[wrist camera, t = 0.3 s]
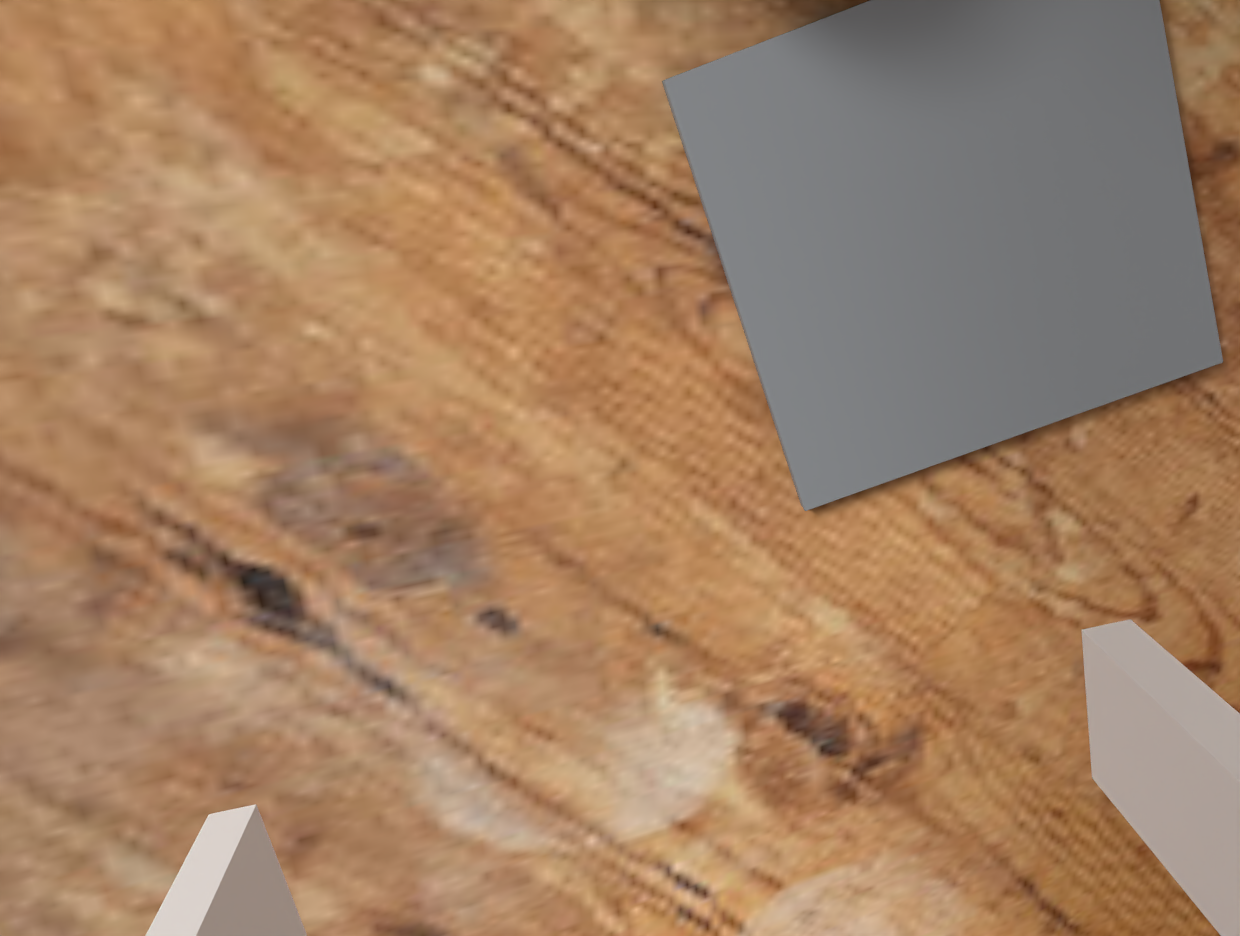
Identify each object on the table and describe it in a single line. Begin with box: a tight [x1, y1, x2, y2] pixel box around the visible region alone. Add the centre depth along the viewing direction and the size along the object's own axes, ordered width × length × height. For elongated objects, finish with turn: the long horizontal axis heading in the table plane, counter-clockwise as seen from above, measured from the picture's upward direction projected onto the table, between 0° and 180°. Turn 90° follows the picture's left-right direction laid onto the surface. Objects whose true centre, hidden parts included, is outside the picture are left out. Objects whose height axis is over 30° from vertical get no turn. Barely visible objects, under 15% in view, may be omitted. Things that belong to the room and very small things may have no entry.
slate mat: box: [662, 0, 1223, 511], centre depth 40 cm, size 18×18×1 cm
